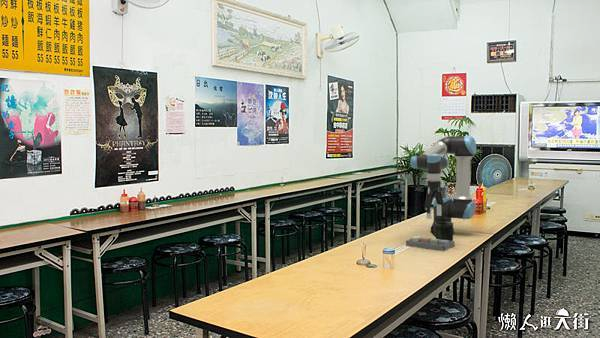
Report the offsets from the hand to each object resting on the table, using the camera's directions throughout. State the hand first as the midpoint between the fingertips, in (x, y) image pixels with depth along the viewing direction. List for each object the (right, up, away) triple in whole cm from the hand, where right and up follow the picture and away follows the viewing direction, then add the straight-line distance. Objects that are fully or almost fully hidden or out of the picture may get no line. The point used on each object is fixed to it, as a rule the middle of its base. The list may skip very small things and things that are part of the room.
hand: (434, 217), depth 304 cm
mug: (+9, -17, +18) cm, 26 cm away
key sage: (+1, -16, +1) cm, 16 cm away
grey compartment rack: (-1, -18, +3) cm, 19 cm away
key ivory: (-8, -15, +9) cm, 19 cm away
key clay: (-4, -15, +5) cm, 17 cm away
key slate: (+5, -16, -3) cm, 17 cm away
